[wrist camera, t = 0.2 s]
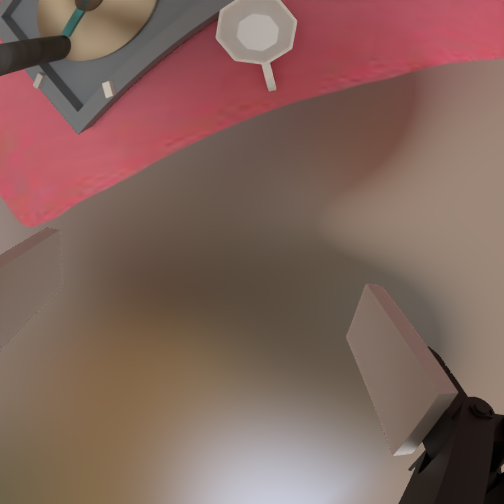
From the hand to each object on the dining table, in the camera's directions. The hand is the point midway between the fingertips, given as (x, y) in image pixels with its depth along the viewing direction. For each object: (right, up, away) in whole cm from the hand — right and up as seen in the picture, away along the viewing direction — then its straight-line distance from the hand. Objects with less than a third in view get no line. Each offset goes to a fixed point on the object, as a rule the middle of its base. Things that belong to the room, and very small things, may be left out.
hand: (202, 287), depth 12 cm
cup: (+3, +24, +16) cm, 29 cm away
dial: (-16, +29, +10) cm, 35 cm away
